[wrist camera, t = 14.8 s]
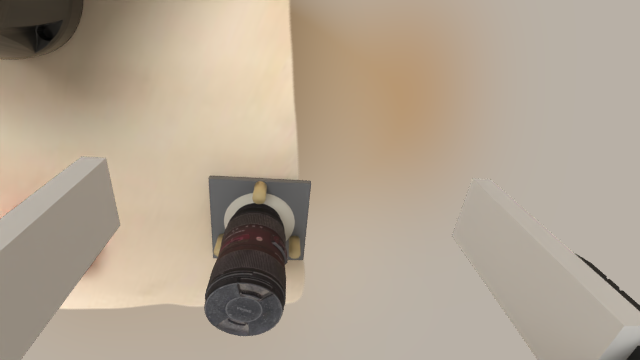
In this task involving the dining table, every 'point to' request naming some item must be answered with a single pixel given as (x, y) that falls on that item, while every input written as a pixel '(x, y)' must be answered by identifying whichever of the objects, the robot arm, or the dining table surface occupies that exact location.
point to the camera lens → (249, 273)
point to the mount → (275, 193)
